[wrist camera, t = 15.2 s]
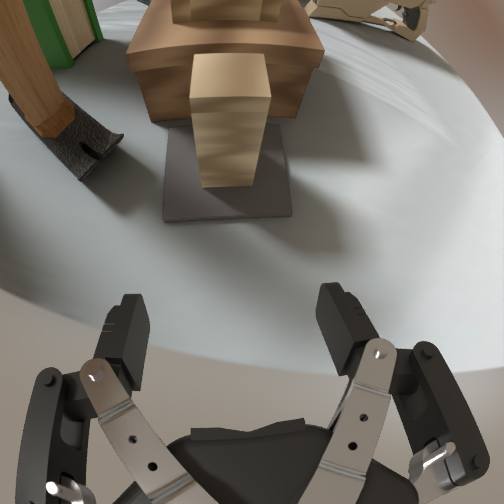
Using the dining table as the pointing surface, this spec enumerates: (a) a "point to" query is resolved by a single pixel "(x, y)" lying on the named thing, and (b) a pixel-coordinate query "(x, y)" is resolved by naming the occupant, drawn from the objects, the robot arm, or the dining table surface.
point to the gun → (365, 3)
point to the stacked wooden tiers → (222, 49)
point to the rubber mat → (224, 198)
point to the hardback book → (63, 28)
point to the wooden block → (228, 115)
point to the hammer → (47, 97)
